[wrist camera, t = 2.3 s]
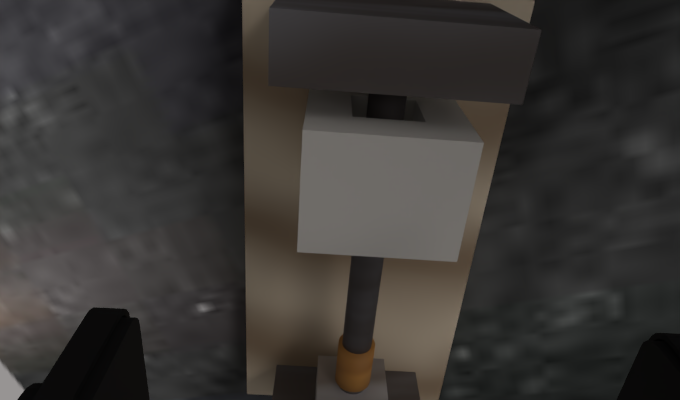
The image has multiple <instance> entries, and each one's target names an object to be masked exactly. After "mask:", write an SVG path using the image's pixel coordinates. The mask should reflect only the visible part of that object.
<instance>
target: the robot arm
mask: <svg viewBox="0 0 680 400" xmlns="http://www.w3.org/2000/svg"><path fill="white" fill-rule="evenodd" d="M18 400H149V392H148V385H147V377H146V369H145V362H144V354H143V346H142V339H141V331H140V324H139V320H138V318H130V316H129V312H128V311H127V310H126V309H115V308H92V309H90V310H89V312H88V313H87V314H86V316H85V317H84V319H83V321H82V322H81V324H80V325H79V327H78V329H77V330H76V332H75V333H74V335H73V336H72V338H71V340H70V341H69V343H68V344H67V346H66V347H65V349H64V351H63V352H62V354H61V355H60V357H59V358H58V360H57V362H56V363H55V365H54V366H53V368H52V369H51V371H50V373H49V374H48V376H47V377H46V379H45V380H44V382H43V383H35V384H32V385H30V386H29V387H27V388H26V389H25V391H24V392H23V393H22V394H21V396H20V397H19V398H18ZM617 400H680V334H669V333H655V334H654V335H652V336H651V338H650V339H649V341H645V342H644V343H643V344H642V346H641V348H640V350H639V352H638V354H637V356H636V359H635V361H634V363H633V365H632V367H631V369H630V372H629V374H628V376H627V378H626V380H625V383H624V385H623V387H622V389H621V391H620V394H619V396H618V398H617Z"/></svg>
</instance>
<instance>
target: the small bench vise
mask: <svg viewBox="0 0 680 400" xmlns="http://www.w3.org/2000/svg"><path fill="white" fill-rule="evenodd" d="M534 3H535V1H534V0H242V33H243V113H244V194H245V274H246V354H247V394H256V395H273V396H272V400H438V399H439V395H440V391H441V387H442V383H443V379H444V375H445V370H446V366H447V362H448V358H449V354H450V350H451V346H452V341H453V337H454V333H455V329H456V325H457V321H458V317H459V313H460V308H461V304H462V300H463V296H464V292H465V288H466V284H467V280H468V275H469V271H470V267H471V263H472V259H473V255H474V251H475V246H476V242H477V238H478V234H479V230H480V226H481V222H482V218H483V213H484V209H485V205H486V201H487V197H488V193H489V189H490V185H491V180H492V176H493V172H494V168H495V164H496V160H497V156H498V151H499V147H500V143H501V139H502V135H503V131H504V127H505V123H506V118H507V114H508V110H509V106H510V104H517V105H523V102H524V98H525V94H526V90H527V86H528V82H529V78H530V74H531V70H532V66H533V62H534V59H535V55H536V51H537V47H538V43H539V39H540V35H541V31H542V30H541V29H539V28H537V27H535V26H533V25H531V24H529V23H530V19H531V15H532V11H533V7H534ZM309 89H316V90H329V91H343V92H356V93H369V95H368V105H367V114H366V118H377V119H391V120H404V114H405V107H406V100H407V96H410V97H423V98H437V99H450V100H455V101H456V102H457V104H458V105H459V107H460V108H461V110H462V111H463V112H464V114H465V115H466V117H467V118H468V120H469V121H470V123H471V124H472V126H473V127H474V129H475V130H476V132H477V133H478V135H479V136H480V138H481V139H482V141H483V142H484V145H483V149H482V154H481V158H480V163H479V167H478V171H477V176H476V180H475V185H474V189H473V194H472V198H471V202H470V207H469V211H468V216H467V220H466V225H465V229H464V234H463V238H462V242H461V247H460V251H459V256H458V260H457V262H448V261H432V260H416V259H400V258H383V257H367V256H351V255H335V254H318V253H302V252H297V242H298V220H299V198H300V176H301V153H302V131H303V124H304V119H305V113H306V107H307V101H308V95H309Z"/></svg>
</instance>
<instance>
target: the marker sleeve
mask: <svg viewBox="0 0 680 400" xmlns="http://www.w3.org/2000/svg"><path fill="white" fill-rule="evenodd" d="M368 95H369V93H356V92H343V91H329V90H316V89H309V95H308V101H307V107H306V113H305V119H304V124H303V131H302V153H301V176H300V198H299V220H298V242H297V252H302V253H318V254H335V255H351V256H367V257H383V258H400V259H416V260H432V261H448V262H457V260H458V256H459V251H460V247H461V242H462V238H463V234H464V229H465V225H466V220H467V216H468V211H469V207H470V202H471V198H472V194H473V189H474V185H475V180H476V176H477V171H478V167H479V163H480V158H481V154H482V149H483V145H484V142H483V141H482V139H481V138H480V136H479V135H478V133H477V132H476V130H475V129H474V127H473V126H472V124H471V123H470V121H469V120H468V118H467V117H466V115H465V114H464V112H463V111H462V110H461V108H460V107H459V105H458V104H457V102H456V101H455V100H450V99H437V98H423V97H410V96H407V100H406V107H405V114H404V120H391V119H377V118H366V114H367V105H368Z"/></svg>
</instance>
